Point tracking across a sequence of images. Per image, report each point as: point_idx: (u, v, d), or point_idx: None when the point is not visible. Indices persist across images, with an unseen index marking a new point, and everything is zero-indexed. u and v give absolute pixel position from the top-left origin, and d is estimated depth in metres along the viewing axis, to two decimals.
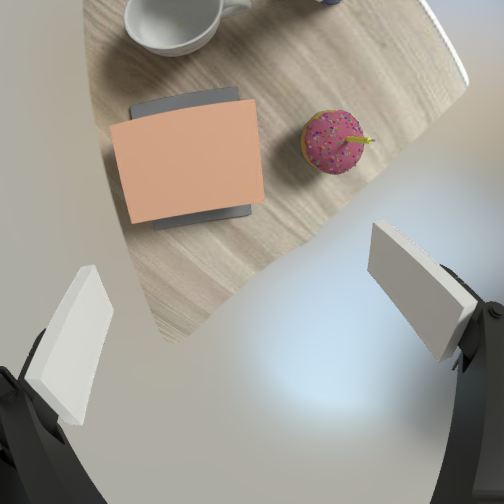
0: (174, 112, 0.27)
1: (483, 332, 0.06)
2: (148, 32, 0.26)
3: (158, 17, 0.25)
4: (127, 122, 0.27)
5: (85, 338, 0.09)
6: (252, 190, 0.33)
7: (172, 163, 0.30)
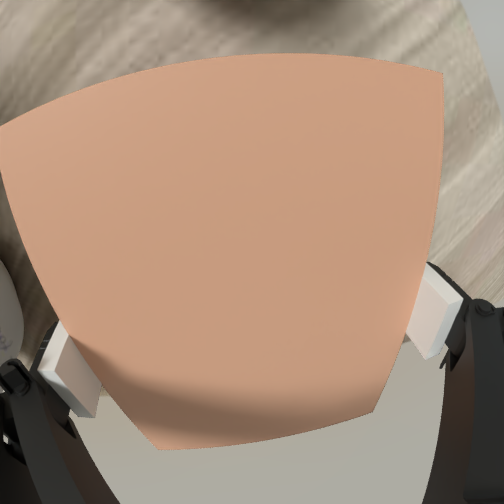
0: (97, 371, 0.09)
1: (470, 330, 0.06)
2: None
3: None
4: (146, 434, 0.11)
5: None
6: (403, 112, 0.06)
7: (253, 376, 0.10)
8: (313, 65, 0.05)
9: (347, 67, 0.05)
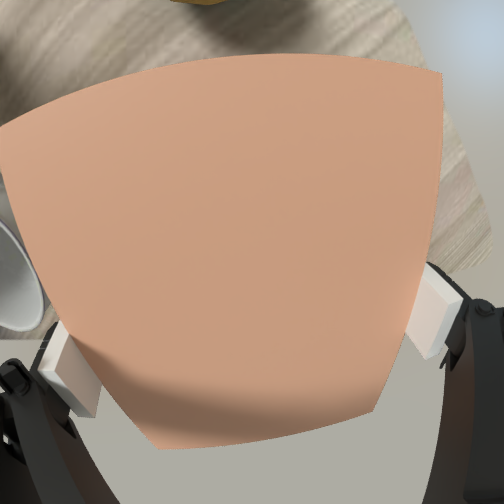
0: (97, 371, 0.09)
1: (470, 330, 0.06)
2: None
3: None
4: (146, 433, 0.11)
5: None
6: (403, 112, 0.06)
7: (253, 376, 0.10)
8: (312, 65, 0.05)
9: (346, 67, 0.05)
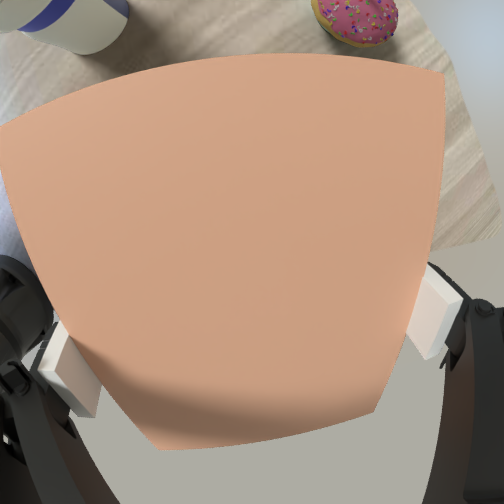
0: (98, 372, 0.09)
1: (470, 330, 0.06)
2: None
3: None
4: (147, 434, 0.11)
5: None
6: (405, 113, 0.06)
7: (254, 376, 0.10)
8: (315, 65, 0.05)
9: (349, 67, 0.05)
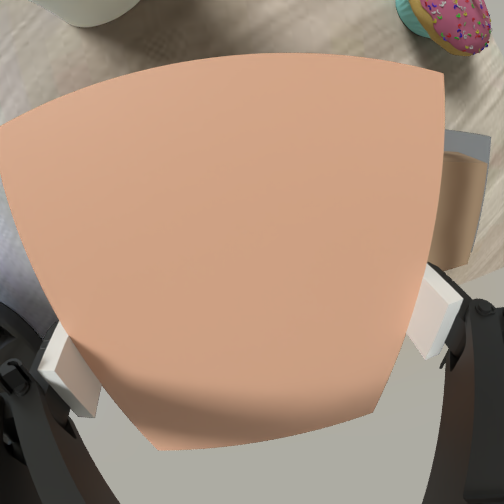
0: (96, 372, 0.09)
1: (470, 330, 0.06)
2: None
3: None
4: (146, 435, 0.11)
5: None
6: (404, 112, 0.06)
7: (253, 377, 0.10)
8: (314, 65, 0.05)
9: (348, 67, 0.05)
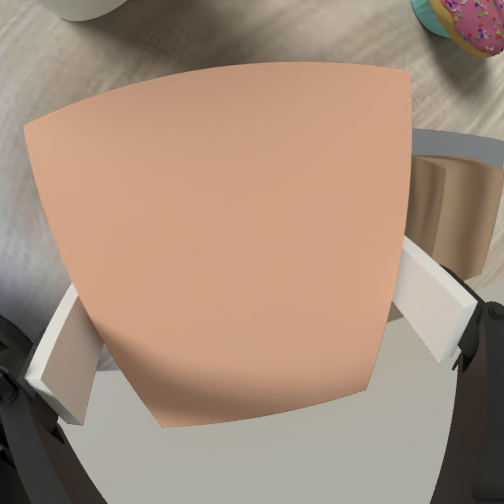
0: (108, 342, 0.10)
1: (483, 332, 0.06)
2: None
3: None
4: (152, 409, 0.13)
5: (85, 338, 0.09)
6: (373, 106, 0.07)
7: (250, 345, 0.11)
8: (293, 71, 0.07)
9: (321, 71, 0.07)
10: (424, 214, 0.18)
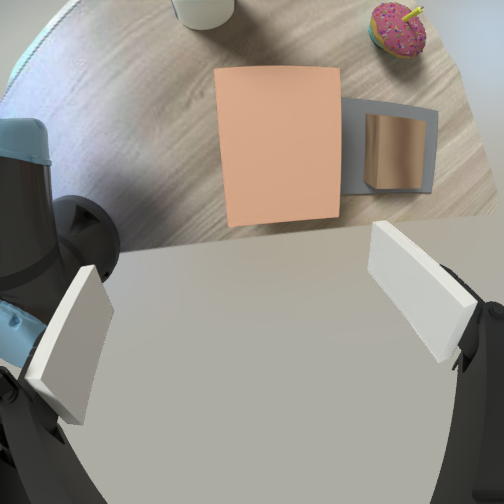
0: (223, 155, 0.26)
1: (483, 332, 0.06)
2: None
3: None
4: (227, 207, 0.29)
5: (85, 338, 0.09)
6: (325, 79, 0.23)
7: (282, 162, 0.27)
8: (300, 68, 0.23)
9: (309, 69, 0.23)
10: (372, 142, 0.34)
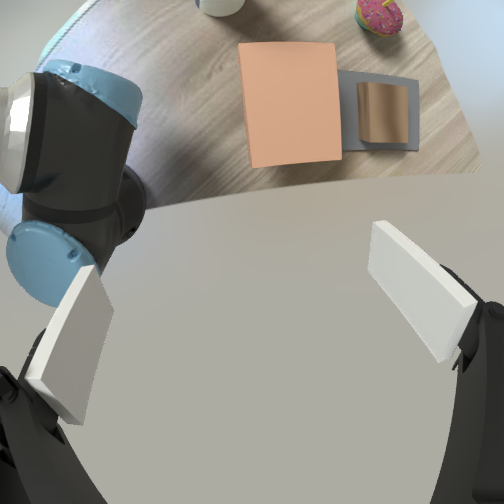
0: (247, 109, 0.31)
1: (483, 332, 0.06)
2: None
3: None
4: (252, 151, 0.34)
5: (85, 338, 0.09)
6: (324, 52, 0.28)
7: (294, 115, 0.32)
8: (304, 43, 0.28)
9: (311, 44, 0.28)
10: (364, 105, 0.39)
